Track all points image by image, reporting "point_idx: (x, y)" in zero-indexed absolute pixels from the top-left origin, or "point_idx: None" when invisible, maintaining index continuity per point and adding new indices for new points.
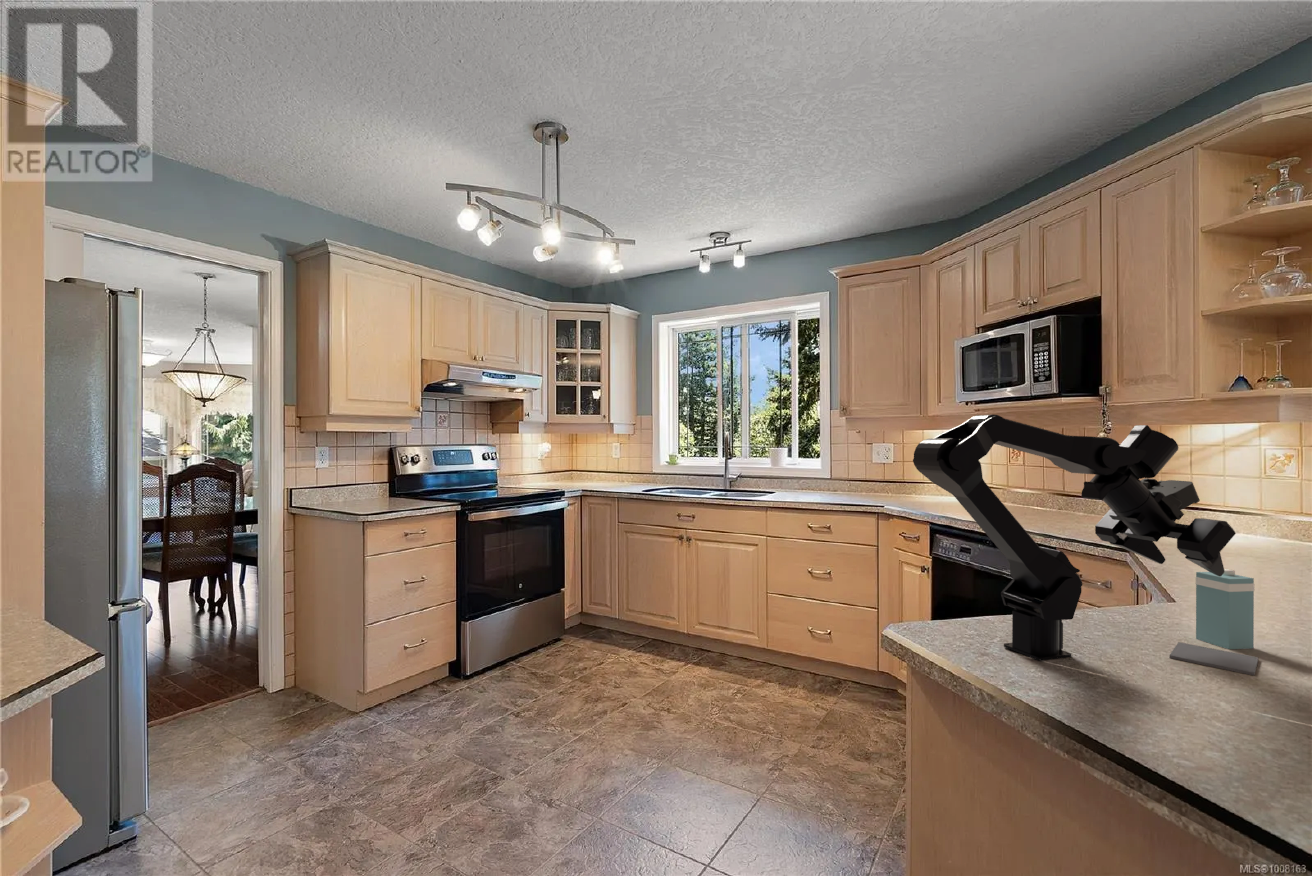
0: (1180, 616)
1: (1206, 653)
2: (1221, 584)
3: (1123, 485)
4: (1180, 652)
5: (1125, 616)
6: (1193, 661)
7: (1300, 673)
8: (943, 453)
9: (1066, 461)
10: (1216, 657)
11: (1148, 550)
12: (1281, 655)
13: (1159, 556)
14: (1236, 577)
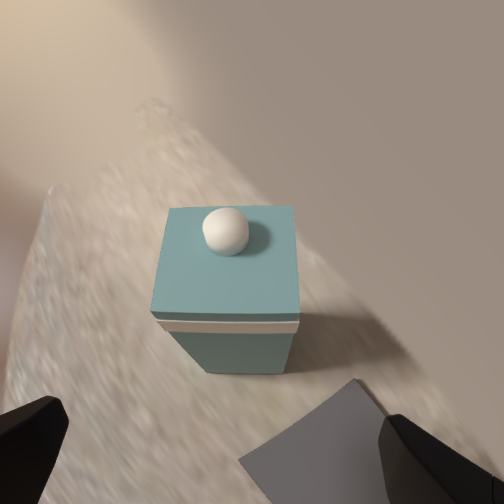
0: (88, 238)
1: (322, 473)
2: (266, 324)
3: None
4: None
5: (49, 346)
6: None
7: (411, 361)
8: None
9: None
10: (347, 472)
11: (13, 490)
12: (318, 292)
13: (43, 433)
14: (274, 251)
